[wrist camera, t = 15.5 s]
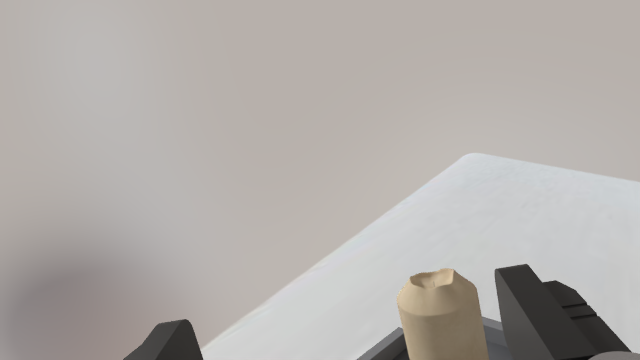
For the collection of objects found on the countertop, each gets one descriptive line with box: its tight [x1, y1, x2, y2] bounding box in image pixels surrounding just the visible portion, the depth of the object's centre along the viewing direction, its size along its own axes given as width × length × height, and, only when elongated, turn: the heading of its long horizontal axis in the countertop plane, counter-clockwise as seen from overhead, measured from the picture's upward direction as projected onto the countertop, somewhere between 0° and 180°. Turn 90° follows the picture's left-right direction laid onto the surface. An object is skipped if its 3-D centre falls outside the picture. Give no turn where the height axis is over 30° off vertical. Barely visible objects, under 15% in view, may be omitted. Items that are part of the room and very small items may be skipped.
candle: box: [397, 269, 489, 360], centre depth 33 cm, size 6×6×10 cm
